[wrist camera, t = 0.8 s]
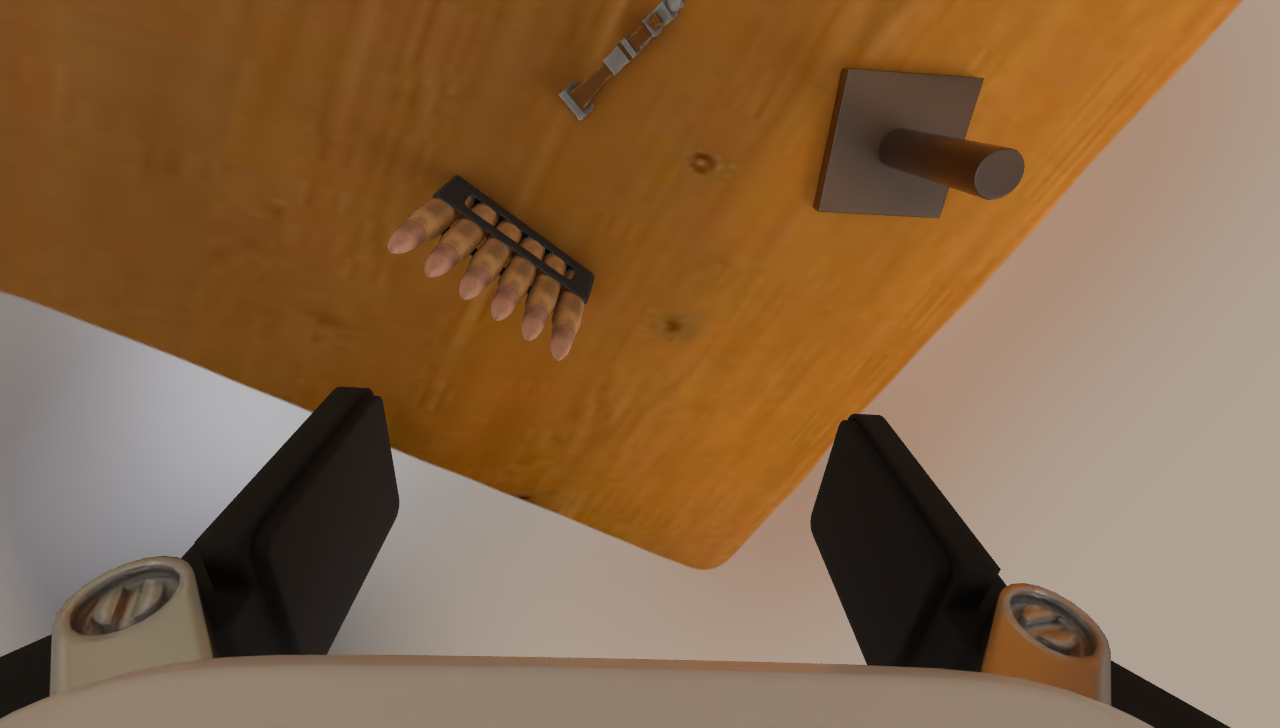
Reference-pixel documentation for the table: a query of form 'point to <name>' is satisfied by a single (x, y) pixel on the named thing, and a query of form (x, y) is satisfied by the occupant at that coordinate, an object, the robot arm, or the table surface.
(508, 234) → the ammunition clip
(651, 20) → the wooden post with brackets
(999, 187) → the stand
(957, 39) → the table surface
